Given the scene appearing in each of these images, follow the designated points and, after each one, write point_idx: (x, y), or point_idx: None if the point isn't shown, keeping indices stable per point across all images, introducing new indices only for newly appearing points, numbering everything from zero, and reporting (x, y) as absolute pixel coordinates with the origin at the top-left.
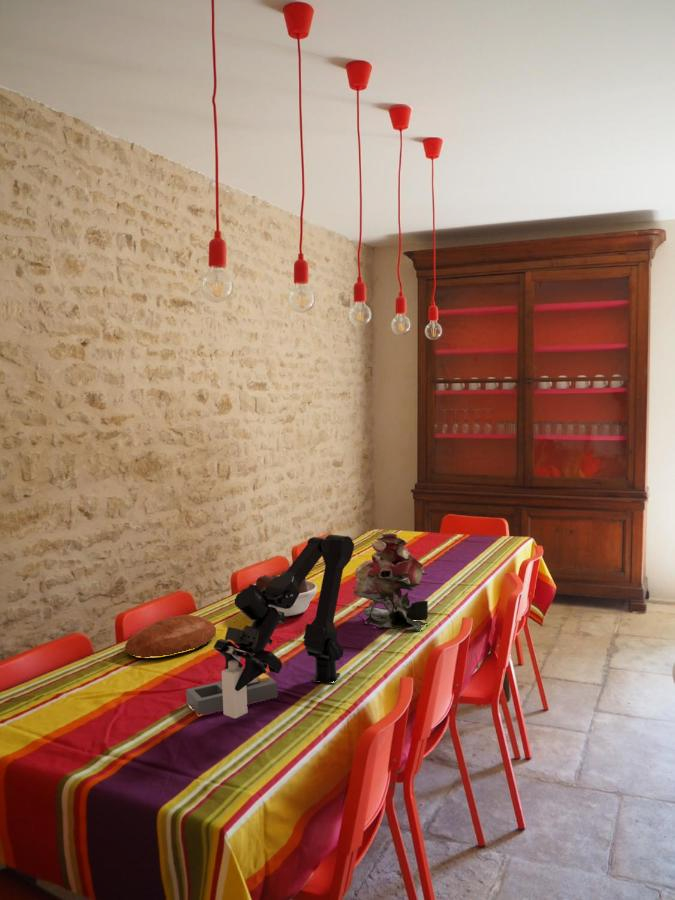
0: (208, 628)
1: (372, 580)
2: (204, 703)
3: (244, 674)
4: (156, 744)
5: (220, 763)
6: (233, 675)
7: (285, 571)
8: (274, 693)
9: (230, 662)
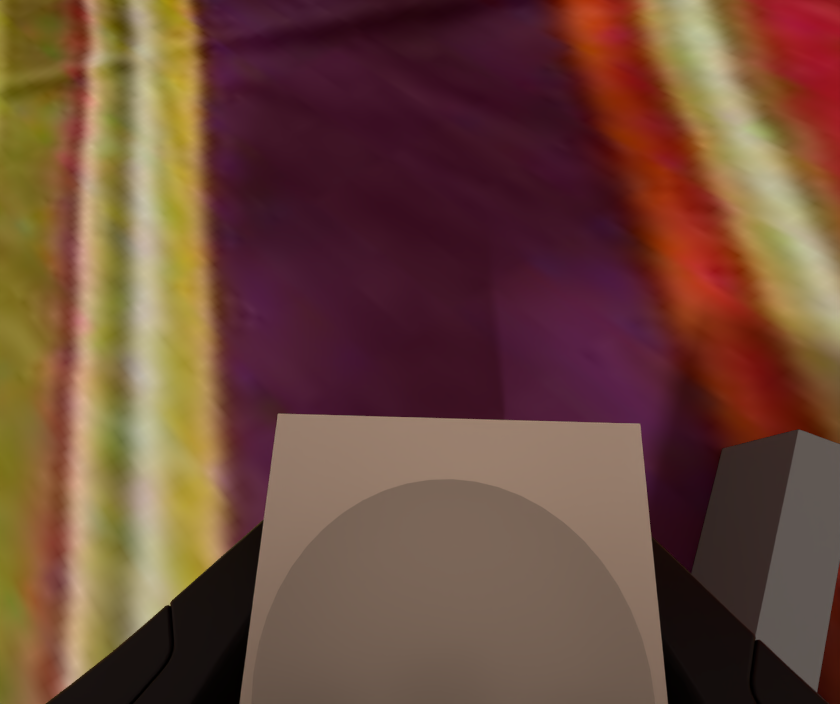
0: None
1: None
2: (765, 488)
3: (146, 629)
4: (594, 110)
5: (186, 162)
6: (284, 426)
7: None
8: None
9: (485, 563)
